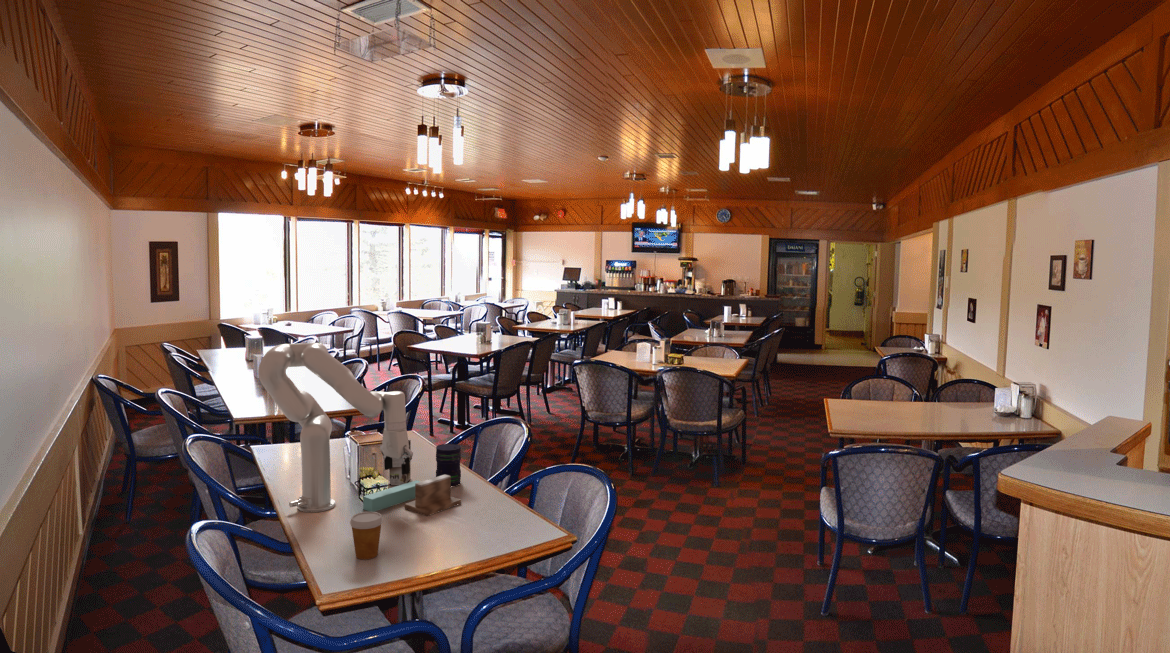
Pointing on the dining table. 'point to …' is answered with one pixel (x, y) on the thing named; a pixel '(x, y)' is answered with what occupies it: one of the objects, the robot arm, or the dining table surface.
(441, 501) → the walnut ridge stand
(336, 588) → the dining table surface
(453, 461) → the storage jar
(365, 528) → the disposable coffee cup
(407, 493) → the teal bar
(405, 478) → the coffee box
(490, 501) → the dining table surface
